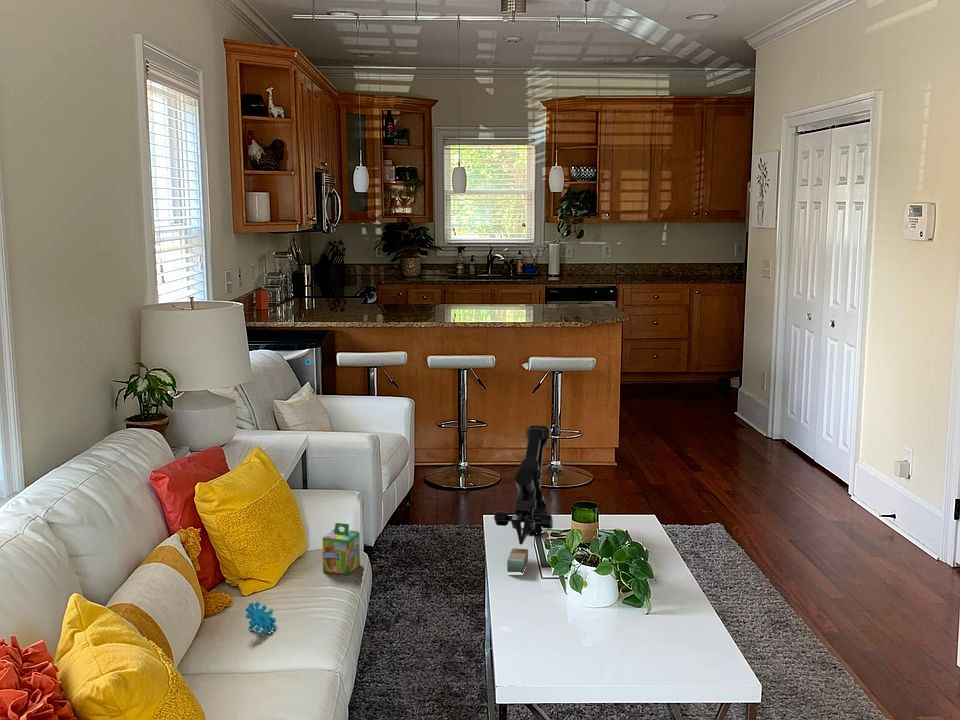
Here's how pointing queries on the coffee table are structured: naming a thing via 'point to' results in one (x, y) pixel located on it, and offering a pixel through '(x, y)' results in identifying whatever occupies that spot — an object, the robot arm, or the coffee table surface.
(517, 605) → the coffee table surface
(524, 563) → the block
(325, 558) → the chalk box
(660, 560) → the coffee table surface
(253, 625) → the gear
